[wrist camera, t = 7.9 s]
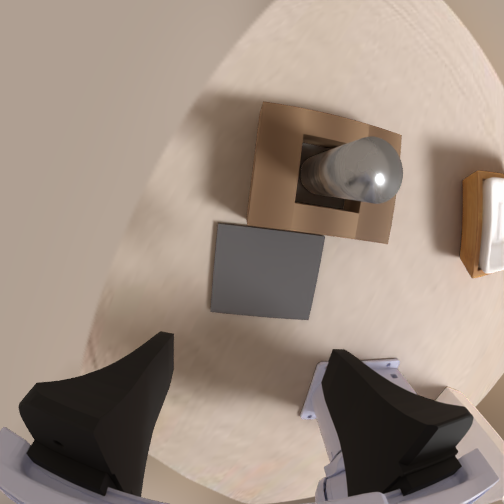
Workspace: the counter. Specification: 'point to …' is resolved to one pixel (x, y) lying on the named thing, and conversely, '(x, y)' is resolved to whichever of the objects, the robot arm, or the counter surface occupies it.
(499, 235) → the soap dish
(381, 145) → the peg
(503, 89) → the counter surface
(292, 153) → the block
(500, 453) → the milk
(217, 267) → the mat
